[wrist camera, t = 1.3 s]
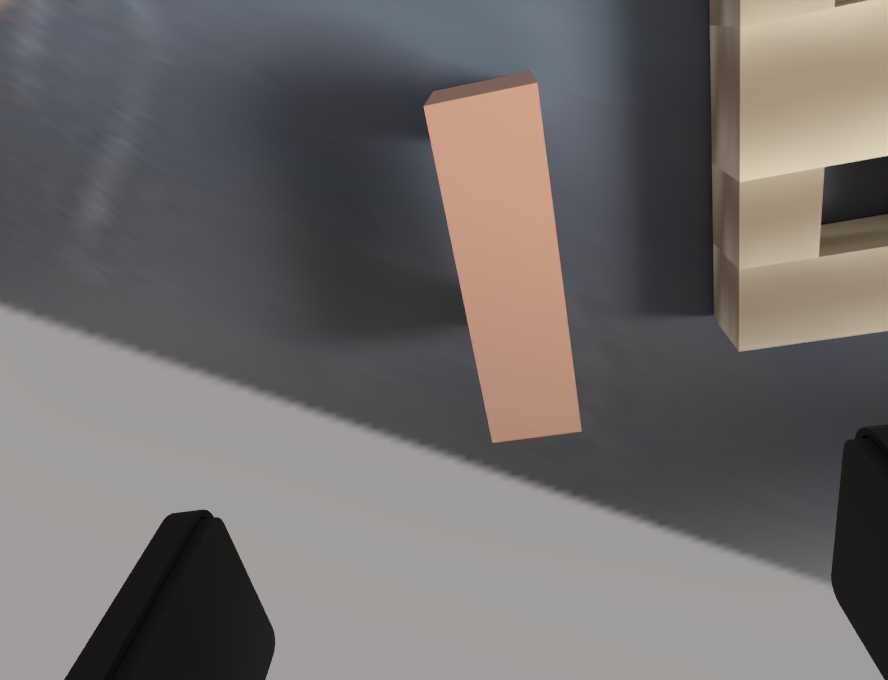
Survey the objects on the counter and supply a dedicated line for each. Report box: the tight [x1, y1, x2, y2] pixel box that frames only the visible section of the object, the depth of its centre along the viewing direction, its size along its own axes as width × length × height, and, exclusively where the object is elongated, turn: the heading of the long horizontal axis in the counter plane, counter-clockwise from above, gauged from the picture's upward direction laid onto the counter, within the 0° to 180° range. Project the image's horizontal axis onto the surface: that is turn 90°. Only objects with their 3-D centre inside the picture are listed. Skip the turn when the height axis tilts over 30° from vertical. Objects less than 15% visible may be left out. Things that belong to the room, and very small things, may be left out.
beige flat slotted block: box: [710, 0, 888, 352], centre depth 21 cm, size 18×10×3 cm, turn 11°
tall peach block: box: [424, 71, 582, 443], centre depth 22 cm, size 11×3×8 cm, turn 12°
